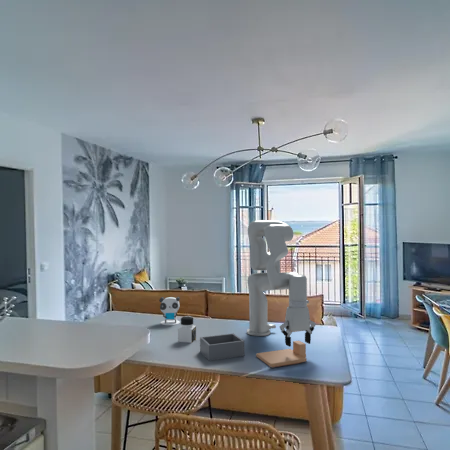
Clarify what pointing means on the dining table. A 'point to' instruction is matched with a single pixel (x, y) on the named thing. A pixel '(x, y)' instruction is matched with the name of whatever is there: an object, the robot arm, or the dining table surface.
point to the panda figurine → (170, 310)
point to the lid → (285, 355)
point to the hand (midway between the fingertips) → (298, 344)
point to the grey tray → (221, 346)
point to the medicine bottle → (187, 330)
